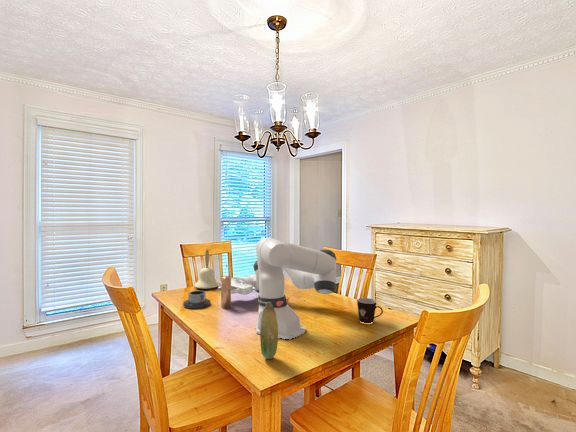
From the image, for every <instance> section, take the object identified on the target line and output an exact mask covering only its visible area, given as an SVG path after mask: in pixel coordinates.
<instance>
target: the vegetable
mask: <svg viewBox="0 0 576 432" xmlns="http://www.w3.org/2000/svg"><path fill="white" fill-rule="evenodd" d="M259 338H260V339H259V340H260V351H261V355H262V357H263V358H264V359H266V360H271V359H273V358H274V357H275V356H276V353H277V350H278V342H279V338H278V324H277V317H276V312H275V310H274V307H273V304H272V303H271V302H267V303H266V306H265V308H264V310H263V313H262V317H261V327H260V334H259Z"/></svg>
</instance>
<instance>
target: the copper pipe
mask: <svg viewBox="0 0 576 432" xmlns="http://www.w3.org/2000/svg"><path fill="white" fill-rule="evenodd" d="M231 278H232V277H231V276H230V275H223V276H221V278H220V280H221V281H220V282H221V291H220V295H221V296H220V297H221V298H220V308H221V309H222V310H224V309H225V310H226V309H231V307H232V294H231V293H230V290H231Z"/></svg>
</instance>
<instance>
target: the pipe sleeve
mask: <svg viewBox="0 0 576 432" xmlns="http://www.w3.org/2000/svg"><path fill="white" fill-rule="evenodd" d="M206 294H207V293H206V291H205V290H192V291H190V292H188V293H187V295H188V297H187V298H188V299H186V300H185V301H183V302H182V307H183V308H185V309H189V310H199V309H205V308H208V307H210V306H211V300H210V299H208V298H207V297H206Z"/></svg>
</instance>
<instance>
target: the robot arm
mask: <svg viewBox="0 0 576 432" xmlns="http://www.w3.org/2000/svg"><path fill="white" fill-rule="evenodd" d="M255 251H256V261H254V264H253V270H254V274H251V275H249V276H241V277H231V290H230V293H231V295H233V294H240V295H243V296H244V295H248V294H251V293H253V292H254V291H255V292H256V293H257V294H258V296H257V304H258V311H257V319H256V322H255V326H254V327H255V330H256V331H255V334H257V335H260V327H261V317H262V313H263V310H264V308H265V306H266V303H267V302H271V303H272V304H273V307H274V310H275V312H276V317H277V324H278V339H280V338H282V339H281V340H285V339H289V340H293V339H292V338H294V339H296V338H298V337H297V336H299V335H300V336H302V335H304V334H305V333H306V331H305V330H307V329H306V327H305V326H303V325H301V320H300V319H301V318H300V316H299V314H298V313H296V312H295V311H294V310H293V309H292V307H291V306H289V304H288V302H290V298H287V297H286V295H285V275H284V272H285V273H286V274H287V276H288V277H289V280H290V281H291V283H292V284H293V286H294V287H296V289H298V290H314V289H315V291H316V293H318V294H322V295H329V294H332V293H334V292H335V291H336V287H337V283H336V282H337V269H338V268H337V257H336V253H335V252H334V251H332V250H331V249H326V248H325V249H319V250H318V249H315V248H311V247H307V246H302V245H300V244H294V243H290V242H286V241H282V240H278V239H276V238H273V237H264V238H262V239H260V240H258V242H257V243H256V247H255ZM283 271H284V272H283ZM217 291H219V292H221V281H220V282H219V286H217ZM301 334H302V335H301ZM300 336H299V337H300ZM295 337H296V338H295Z"/></svg>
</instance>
